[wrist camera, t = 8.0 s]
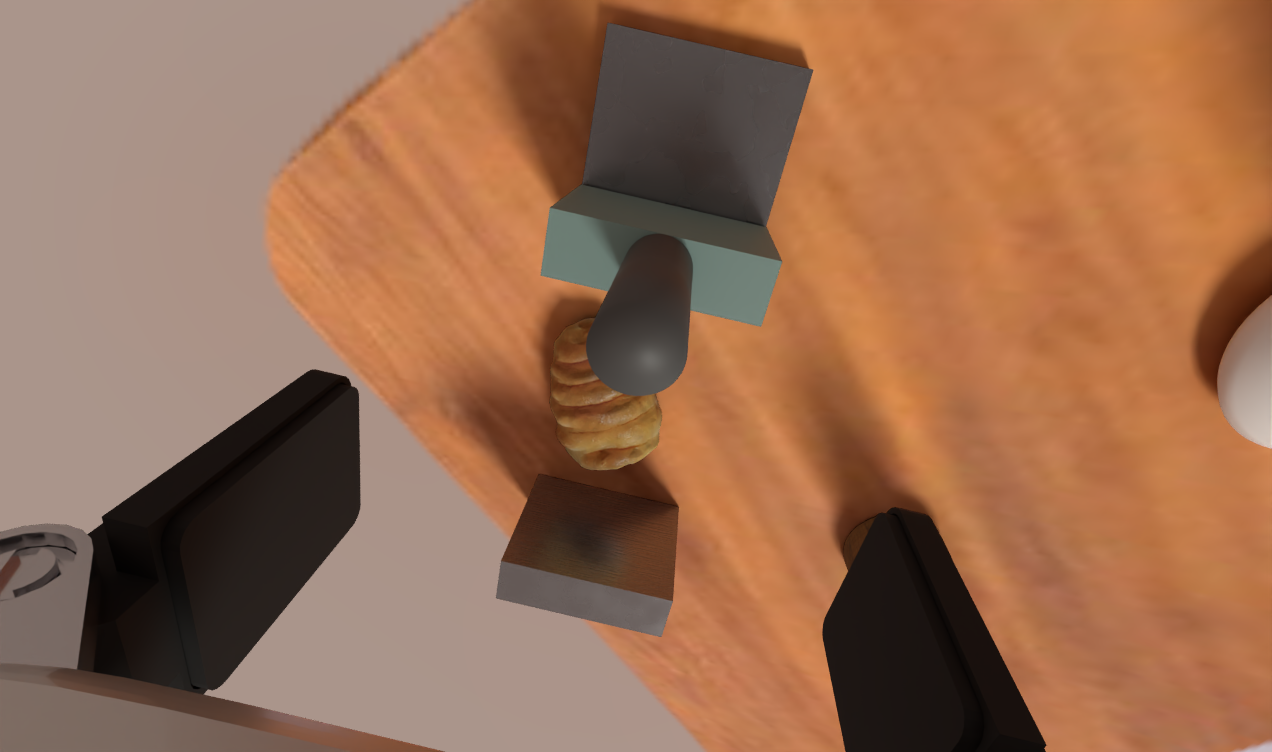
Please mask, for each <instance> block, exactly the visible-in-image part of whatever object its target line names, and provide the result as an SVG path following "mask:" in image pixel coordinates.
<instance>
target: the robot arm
mask: <svg viewBox="0 0 1272 752" xmlns="http://www.w3.org/2000/svg"><path fill="white" fill-rule="evenodd" d="M359 510H360V440H359V393H358V390H357V389H356V388H355V387H352V386H351V383H350V381H349V379H348V378H347V377H345V376H341V375H337V374H333V373H328V372H324V371H320V370H310V371H308V372H306V373H305V374H304V375H302V376H301V377H299V378H298V379H297V380H295V381H294V382H292V383H291V384H289V385H288V386H286V387H285V388H284V389H282V390H281V391H279V392H278V393H277V394H275V395H274V396H272V397H271V398H269V399H268V400H267V401H265V402H264V403H262V404H261V405H260V406H258V407H257V408H255V409H254V410H252V411H251V412H250V413H248V414H247V415H245V416H244V417H243V418H241V419H240V420H239V421H237V422H235V423H234V424H233V425H231V426H230V427H228V428H227V429H226V430H224V431H223V432H221V433H220V434H218V435H217V436H216V437H214V438H213V439H211V440H210V441H209V442H207V443H206V444H204V445H203V446H201V447H200V448H199V449H197V450H196V451H195V452H193V453H192V454H190V455H189V456H187V457H186V458H185V459H183V460H182V461H180V462H179V463H177V464H176V465H175V466H173V467H172V468H171V469H169V470H167V471H166V472H165V473H163V474H162V475H160V476H159V477H157V478H156V479H155V480H153V481H152V482H151V483H149V484H148V485H146V486H145V487H143V488H142V489H140V490H139V491H138V492H136V493H135V494H133V495H132V496H131V497H129V498H128V499H126V500H125V501H123V502H122V503H121V504H119V505H118V506H116V507H115V508H114V509H112V510H111V511H109V512H108V513H106V514H105V515H104V516H102V520H103V524H101V525H100V526H99V527H97V528H96V529H94V530H93V531H92V532H90V533H89V534H86V533H85V532H84V531H83V530H81V529H78V528H75V527H72V526H69V525H60V524H39V525H29V526H22V527H18V528H14V529H10V530H6V531H2V532H0V752H443V751H440V750H435V749H431V748H427V747H423V746H419V745H415V744H410V743H406V742H402V741H398V740H394V739H390V738H386V737H381V736H377V735H373V734H368V733H365V732H360V731H356V730H352V729H348V728H344V727H340V726H335V725H331V724H327V723H323V722H319V721H314V720H310V719H306V718H302V717H298V716H293V715H289V714H285V713H280V712H277V711H272V710H268V709H264V708H260V707H256V706H252V705H247V704H243V703H239V702H234V701H229V700H225V699H221V698H216V697H211V696H207V695H203V694H204V693H205V692H206V691H207V690H208V689H209V690H215V689H217V688H218V687H220V686H221V685H222V684H223V683H224V682H225V681H226V680H227V679H228V678H229V676H230V675H231V674H232V673H233V671H234V670H235V669H236V668H237V667H238V665H239V664H240V663H241V662H242V660H243V659H244V658H245V657H246V656H247V654H248V653H249V652H250V651H251V649H252V648H253V647H254V646H255V644H256V643H257V642H258V641H259V640H260V638H261V637H262V636H263V635H264V634H265V632H266V631H267V630H268V629H269V627H270V626H271V625H272V624H273V623H274V621H275V620H276V619H277V618H278V616H279V615H280V614H281V613H282V612H283V610H284V609H285V608H286V607H287V605H288V604H289V603H290V602H291V601H292V599H293V598H294V597H295V596H296V594H297V593H298V592H299V591H300V590H301V588H302V587H303V586H304V585H305V583H306V582H307V581H308V580H309V579H310V577H311V576H312V575H313V574H314V572H315V571H316V570H317V568H318V567H319V566H320V565H321V564H322V563H323V561H324V560H325V559H326V557H327V556H328V555H329V554H330V553H331V552H332V550H333V549H334V548H335V547H336V545H337V544H338V543H339V542H340V541H341V539H342V538H343V537H344V536H345V534H346V533H347V532H348V531H349V529H350V528H351V527H352V526H353V524H354V523H355V521H356V519H357V516H358V514H359ZM823 642H824V647H825V652H826V657H827V662H828V667H829V672H830V677H831V682H832V686H833V691H834V696H835V701H836V706H837V711H838V716H839V721H840V726H841V731H842V736H843V741H844V746H845V751H846V752H1046V751H1045V749H1044V748H1045V747H1046V743H1045V741H1044V739H1043V737H1042V735H1041V733H1040V731H1039V729H1038V727H1037V725H1036V724H1035V722H1034V720H1033V718H1032V716H1031V714H1030V712H1029V710H1028V708H1027V706H1026V704H1025V702H1024V700H1023V698H1022V696H1021V694H1020V692H1019V690H1018V688H1017V686H1016V684H1015V682H1014V680H1013V678H1012V676H1011V674H1010V672H1009V670H1008V668H1007V667H1006V665H1005V663H1004V661H1003V659H1002V657H1001V655H1000V653H999V651H998V649H997V647H996V645H995V643H994V641H993V639H992V637H991V635H990V633H989V631H988V629H987V627H986V625H985V623H984V621H983V619H982V617H981V615H980V613H979V611H978V610H977V608H976V606H975V604H974V602H973V600H972V598H971V596H970V594H969V592H968V590H967V588H966V586H965V584H964V582H963V580H962V578H961V576H960V574H959V572H958V570H957V568H956V566H955V564H954V562H953V560H952V558H951V556H950V555H949V553H948V551H947V549H946V547H945V545H944V543H943V541H942V539H941V537H940V535H939V533H938V531H937V529H936V527H935V525H934V523H933V521H932V519H931V518H930V517H929V516H928V515H926V514H922V513H918V512H913V511H909V510H905V509H901V508H896V507H894V508H891V509H890V510H889V511H888V512H887V513H879V514H878V515H877V516H876V518H875V519H874V521H873V523H872V525H871V527H870V529H869V531H868V533H867V535H866V537H865V539H864V541H863V543H862V545H861V547H860V549H859V551H858V553H857V555H856V557H855V559H854V561H853V563H852V565H851V567H850V569H849V571H848V573H847V575H846V577H845V579H844V581H843V583H842V585H841V587H840V589H839V591H838V593H837V595H836V597H835V599H834V601H833V603H832V605H831V607H830V609H829V611H828V613H827V614H826V617H825V619H824V623H823Z"/></svg>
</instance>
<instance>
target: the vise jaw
mask: <svg viewBox="0 0 1272 752" xmlns="http://www.w3.org/2000/svg"><path fill="white" fill-rule="evenodd" d="M781 264H782V260H781V258H780V256H779V253H778V251H777V249H776V247H775V245H774V242H773V240H772V238H771V236H770V234H769V231H768V229H767V227H763V226H759V225H755V224H750V223H746V222H742V221H737V220H733V219H729V218H724V217H720V216H716V215H711V214H707V213H703V212H698V211H694V210H690V209H685V208H681V207H677V206H672V205H668V204H664V203H660V202H655V201H651V200H647V199H642V198H638V197H634V196H629V195H625V194H621V193H616V192H612V191H608V190H603V189H599V188H595V187H590V186H586V185H582V184H581V185H580V186H578V187H577V188H576V189H574V190H573V191H572V192H570V193H569V194H568V195H566V196H565V197H564V198H562V199H561V200H560V201H558V202H557V203H556V204H554V205H553V206H552V207H550V211H549V218H548V225H547V233H546V240H545V247H544V255H543V262H542V269H541V276H545V277H549V278H553V279H558V280H562V281H566V282H571V283H575V284H579V285H584V286H588V287H592V288H597V289H601V290H605V291H608V293H607V295H606V297H605V299H604V301H603V303H602V305H601V307H600V309H599V311H598V313H597V315H596V317H595V319H594V321H593V323H592V326H591V328H590V330H589V332H588V336H587V340H586V353H587V358H588V361H589V364H590V366H591V368H592V370H593V372H594V373H595V375H596V376H597V377H598V378H599V379H600V380H601V381H602V382H603V383H604V384H605V385H607V386H608V387H610V388H611V389H613V390H615V391H617V392H620V393H623V394H626V395H632V396H646V395H652V394H655V393H658V392H660V391H662V390H664V389H666V388H668V387H669V386H670V385H672V384H673V383H674V382H675V381H676V380H677V379H678V377H679V376H680V374H681V373H682V371H683V369H684V367H685V364H686V360H687V352H688V337H689V322H690V310H691V311H696V312H700V313H704V314H709V315H713V316H717V317H722V318H726V319H730V320H734V321H739V322H743V323H747V324H752V325H756V326H760V327H761V325H762V322H763V319H764V316H765V313H766V310H767V307H768V304H769V301H770V298H771V294H772V291H773V288H774V285H775V282H776V279H777V276H778V273H779V270H780V267H781Z"/></svg>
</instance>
